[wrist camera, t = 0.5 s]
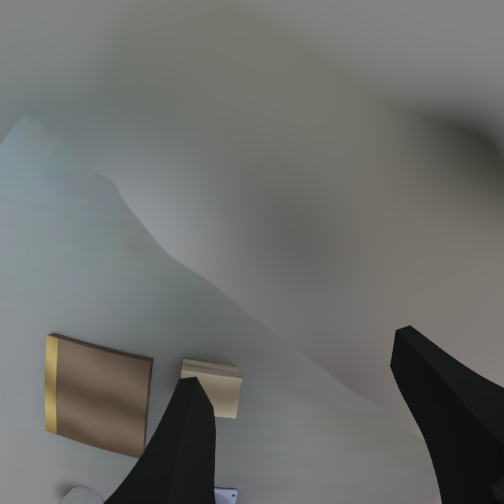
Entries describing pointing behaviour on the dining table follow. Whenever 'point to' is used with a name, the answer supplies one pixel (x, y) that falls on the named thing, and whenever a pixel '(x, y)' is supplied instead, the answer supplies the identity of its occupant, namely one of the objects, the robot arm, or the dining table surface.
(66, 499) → the shot glass
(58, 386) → the dock
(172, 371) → the dining table surface
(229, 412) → the beige block
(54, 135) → the dining table surface
